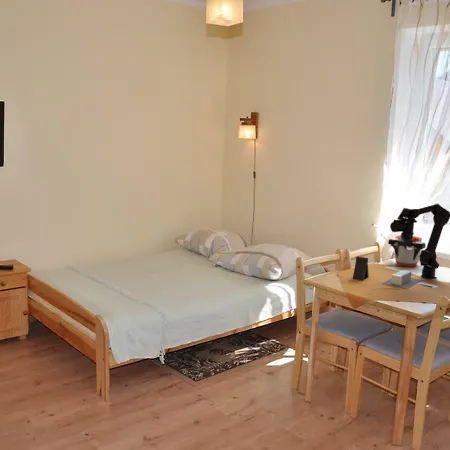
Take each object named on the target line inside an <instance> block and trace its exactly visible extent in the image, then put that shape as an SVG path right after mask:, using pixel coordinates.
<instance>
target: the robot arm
mask: <svg viewBox="0 0 450 450" xmlns="http://www.w3.org/2000/svg"><path fill="white" fill-rule="evenodd" d="M427 213H431V214H432V215H433V217H432V219H433V227H432V230H431V233H430V236H429V239H428V242H427V245H426V242H422V241H421V242H417V243H412V242H413V236H414V235H415V232H414V229H415V228H414V227H415V226H414V225H415V223H416V224H417V223H418V221H417V220H416V219H417V218H419V216H421V215H424V214H427ZM449 221H450V210H448V209H446V208H445V207H443V206H441V205H440V204H439V203H437V202H430V203H426V204H422V205H420V206H414V207H413V206H412V207H411V206H406V207H403V208H402V210H401V212H400V213H399V215H398V217H396V219H395V218H394V219H393V221H392V222H391V223H390V225H389V227H390V230H391V232H392V233H400V232H401V233H400V235H401V236H400V235H399V236H400V237H399V239H397V238H395V237H392V238H390V239H388V243H387V244H388V245H390V247H392V248H393V250H394V254H395V253H396V257H397V258H398V255H399V246H403V247H406V246H407V245H409V246H415V249H414V256H413V260H415V258H416V256H417V254H418V253H419V251H420V250H421V251H420V256H419V260H418V261H419V262H420V263H419V264H420V266H422V270H421V274H420V275H419V276H420V277H422V278H424V279H427V280H430V279H431V280H432V279H438V278H437V277H436V270H437V269H439V267H440V264H439V262H438V261H437V257H438V256H437V252H436V250H437V248H438V244H439V241H440V238H441V235H442V232H443V229H444V226H446V225H447V224H448V222H449ZM423 249H424V250H423Z"/></svg>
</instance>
